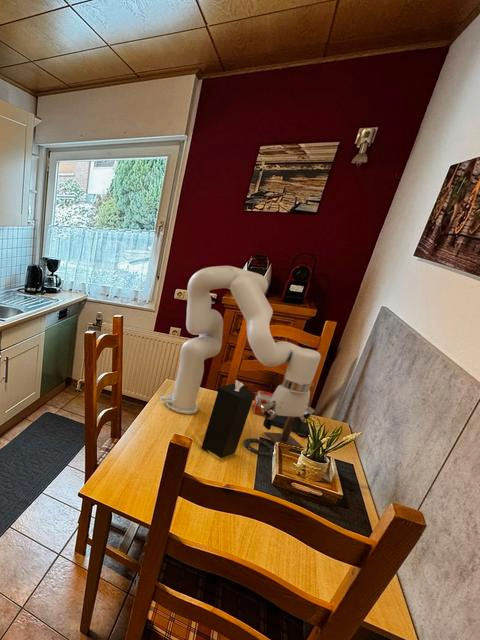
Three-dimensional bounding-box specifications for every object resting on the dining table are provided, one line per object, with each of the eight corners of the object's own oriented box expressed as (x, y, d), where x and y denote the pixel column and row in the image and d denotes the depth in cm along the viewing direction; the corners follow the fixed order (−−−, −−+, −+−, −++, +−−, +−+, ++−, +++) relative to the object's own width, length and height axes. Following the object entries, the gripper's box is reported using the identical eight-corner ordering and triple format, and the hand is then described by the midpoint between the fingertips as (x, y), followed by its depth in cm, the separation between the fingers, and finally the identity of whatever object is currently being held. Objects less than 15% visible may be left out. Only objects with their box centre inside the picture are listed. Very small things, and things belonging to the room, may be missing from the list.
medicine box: (253, 413, 166) (259, 397, 163) (252, 405, 172) (258, 389, 169) (296, 424, 159) (302, 407, 156) (293, 415, 166) (299, 399, 163)
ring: (251, 457, 136) (253, 453, 135) (236, 440, 146) (238, 436, 145) (281, 460, 136) (283, 455, 135) (265, 442, 145) (266, 438, 145)
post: (277, 449, 142) (287, 422, 137) (263, 435, 150) (272, 409, 146) (302, 450, 142) (313, 423, 137) (287, 436, 150) (297, 411, 145)
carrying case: (265, 427, 156) (310, 441, 148) (267, 420, 155) (313, 434, 146) (268, 416, 164) (311, 430, 155) (271, 410, 163) (314, 423, 154)
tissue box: (220, 460, 134) (244, 388, 123) (200, 448, 140) (221, 378, 129) (234, 455, 137) (258, 384, 126) (214, 443, 144) (235, 374, 133)
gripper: (314, 381, 133) (298, 424, 140) (263, 378, 134) (249, 421, 140) (330, 391, 126) (313, 436, 133) (276, 388, 127) (261, 432, 133)
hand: (280, 428), depth 137 cm, fingers open, 9 cm apart
